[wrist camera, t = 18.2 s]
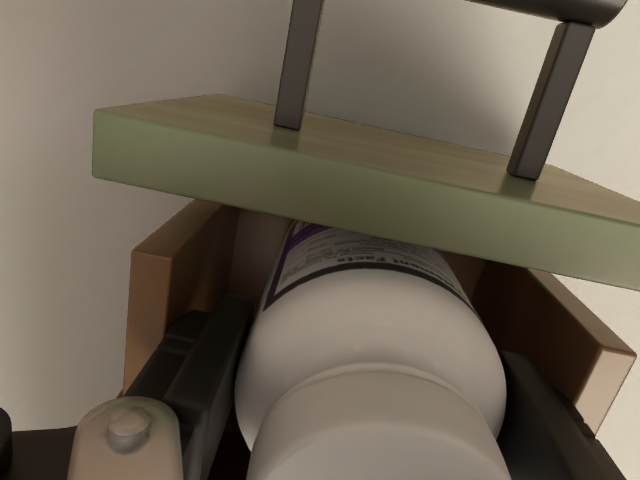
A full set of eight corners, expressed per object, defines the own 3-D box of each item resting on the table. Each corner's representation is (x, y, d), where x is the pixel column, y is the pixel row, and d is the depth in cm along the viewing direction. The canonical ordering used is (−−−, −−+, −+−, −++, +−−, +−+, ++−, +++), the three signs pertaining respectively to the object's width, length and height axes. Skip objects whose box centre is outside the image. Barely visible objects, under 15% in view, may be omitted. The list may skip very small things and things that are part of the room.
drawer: (236, -75, 13) (101, -267, 6) (612, 9, 13) (938, -74, 6) (178, 415, 19) (78, 621, 12) (436, 466, 20) (491, 698, 12)
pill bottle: (390, 355, 17) (448, 701, 7) (254, 297, 16) (137, 594, 7) (467, 229, 15) (671, 480, 6) (318, 159, 14) (274, 311, 5)
